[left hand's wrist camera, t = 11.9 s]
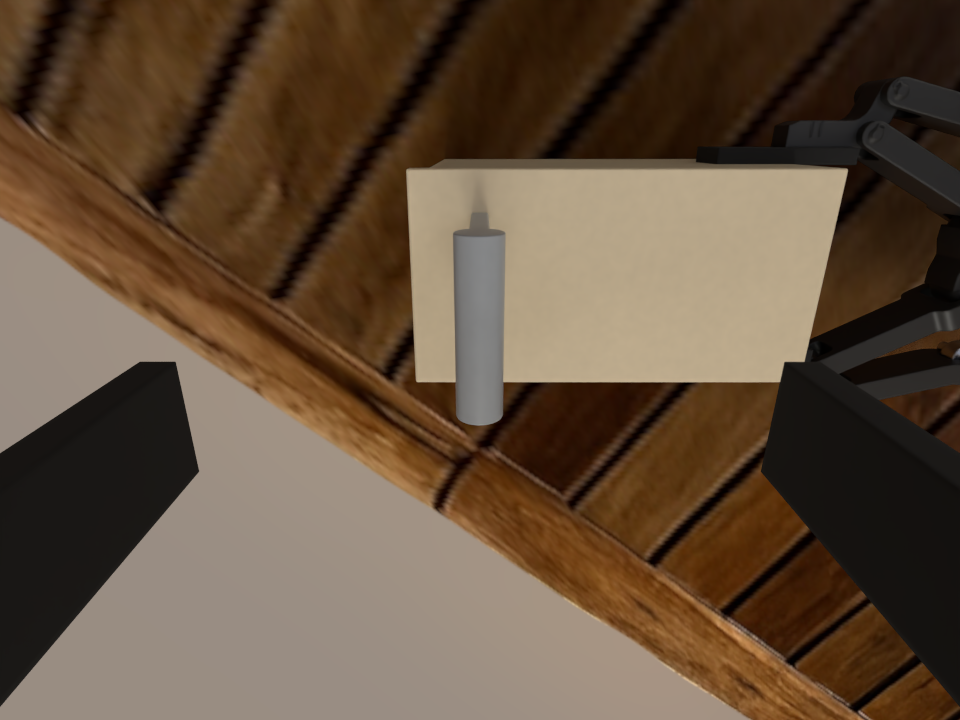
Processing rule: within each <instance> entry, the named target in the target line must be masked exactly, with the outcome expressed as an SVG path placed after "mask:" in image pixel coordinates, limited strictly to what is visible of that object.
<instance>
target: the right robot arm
mask: <svg viewBox="0 0 960 720" xmlns="http://www.w3.org/2000/svg"><path fill="white" fill-rule="evenodd" d="M854 102H855V105H854V106H853V108H852V110H851V111H850V113H849V114H848V115H847V116H846V117H845V118H843V119H842V120H839V121H787V122H784V123H781V124H779V125H776V126H775V128H774V133H773V139H772V144H771V147H698V149H697V157H696V162H700V163H709V164H797V165H856V164H857V160H858V161H860V162H861V163H863V164H864V165H866V166H868V167H869V168H871V169H872V170H874V171H875V172H877V173H879V174H880V175H882V176H883V177H885V178H886V179H888V180H890V181H891V182H893V183H894V184H896V185H897V186H899V187H901V188H902V189H904V190H905V191H907V192H908V193H910V194H912V195H913V196H915V197H916V198H918V199H919V200H921V201H923V202H924V203H926V204H927V206H926V207H927V208H928V209H930V210H931V211H933V212H935V213H936V214H938V215H939V216H941V217H942V218H944V219H946V220H947V221H949V222H948V224H947V225H941V227H940V231H939V234H938V238H937V253H936V256H935V258H934V260H933V261H932V263H931V265H930V267H929V268H928V271H927V275H926V278H925V282H924V284H922V285H920V286H918V287H915V288H913V289H911V290H909V291H906V292H905V293H903V294H902V295H901V299H900V300H898V301H895V302H893V303H891V304H889V305H886V306H884V307H882V308H880V309H877V310H875V311H873V312H871V313H868V314H866V315H864V316H862V317H859V318H857V319H855V320H853V321H850V322H848V323H846V324H844V325H841V326H839V327H837V328H835V329H832V330H830V331H828V332H826V333H823V334H821V335H819V336H817V337H814V338H812V339H810V340H809V344H808V349H807V353H806V357H805V362H821V363H823V364H824V365H826V366H827V367H829V368H830V369H832V370H833V371H835V372H836V373H838V374H839V375H841V376H842V377H844V378H845V379H847V380H848V381H850V382H852V383H853V384H855V385H856V386H858V387H859V388H861V389H862V390H864V391H865V392H867V393H868V394H870V395H871V396H873V397H874V398H876V399H878V400H881V399H885V398H890V397H895V396H900V395H904V394H909V393H914V392H919V391H924V390H928V389H933V388H938V387H943V386H947V385H952V384H956V385H960V340H956V341H951V342H949V343H947V342H941V343H939V344H938V346H937V349H919V350H913V351H909V352H904V353H899V354H895V355H890V356H885V357H881V358H877V357H879V356H881V355H884V354H886V353H888V352H891V351H893V350H895V349H898V348H900V347H902V346H905V345H907V344H909V343H912V342H914V341H916V340H919V339H921V338H923V337H926V336H928V335H930V334H933V333H935V332H938V331H952V330H956V329H959V328H960V171H958V170H957V169H955V168H954V167H952V166H951V165H949V164H948V163H946V162H945V161H943V160H942V159H940V158H939V157H937V156H936V155H934V154H933V153H931V152H929V151H928V150H926V149H925V148H923V147H922V146H920V145H919V144H917V143H916V142H914V141H913V140H911V139H910V138H908V137H907V136H905V135H904V134H902V133H901V132H899V131H898V130H896V129H895V128H893V127H891V126H890V125H889V123H890V122H891V120H892V118H896V119H899V120H903V121H906V122H909V123H913V124H916V125H920V126H923V127H927V128H930V129H934V130H937V131H941V132H944V133H948V134H951V135H955V136H958V137H960V92H957V91H954V90H951V89H947V88H944V87H940V86H937V85H934V84H930V83H927V82H924V81H920V80H917V79H913V78H910V77H897V78H890V79H884V80H877V81H870V82H866V83H863V84H862V85H861V86H860V87H858V89H857V90H856V92H855V96H854ZM874 358H876V359H874Z"/></svg>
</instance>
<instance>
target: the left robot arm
mask: <svg viewBox="0 0 960 720" xmlns="http://www.w3.org/2000/svg"><path fill="white" fill-rule="evenodd" d="M198 472H199V469H198V464H197V460H196V455H195V450H194V446H193V441H192V436H191V432H190V427H189V422H188V418H187V413H186V409H185V404H184V399H183V394H182V390H181V385H180V381H179V376H178V371H177V366H176V362H139V363H138V364H136V365H134V366H133V367H131V368H130V369H128V370H127V371H125V372H124V373H122V374H121V375H119V376H118V377H116V378H115V379H113V380H112V381H110V382H108V383H107V384H105V385H104V386H102V387H101V388H99V389H98V390H96V391H95V392H93V393H92V394H90V395H89V396H87V397H86V398H84V399H82V400H81V401H79V402H78V403H76V404H75V405H73V406H72V407H70V408H69V409H67V410H66V411H64V412H63V413H61V414H60V415H58V416H57V417H55V418H54V419H52V420H50V421H49V422H47V423H46V424H44V425H43V426H41V427H40V428H38V429H37V430H35V431H34V432H32V433H31V434H29V435H27V436H26V437H24V438H23V439H21V440H20V441H18V442H17V443H15V444H14V445H12V446H11V447H9V448H8V449H6V450H5V451H3V452H2V453H0V706H1V705H2V704H3V703H4V702H5V700H6V699H7V698H8V697H9V696H10V694H11V693H12V692H13V691H14V690H15V689H16V687H17V686H18V685H19V684H20V683H21V681H22V680H23V679H24V678H25V677H26V676H27V674H28V673H29V672H30V671H31V670H32V668H33V667H34V666H35V665H36V664H37V663H38V661H39V660H40V659H41V658H42V657H43V655H44V654H45V653H46V652H47V651H48V650H49V648H50V647H51V646H52V645H53V644H54V642H55V641H56V640H57V639H58V638H59V637H60V635H61V634H62V633H63V632H64V631H65V629H66V628H67V627H68V626H69V625H70V623H71V622H72V621H73V620H74V619H75V618H76V616H77V615H78V614H79V613H80V612H81V611H82V609H83V608H84V607H85V606H86V605H87V603H88V602H89V601H90V600H91V599H92V597H93V596H94V595H95V594H96V593H97V592H98V590H99V589H100V588H101V587H102V586H103V585H104V583H105V582H106V581H107V580H108V579H109V577H110V576H111V575H112V574H113V573H114V572H115V570H116V569H117V568H118V567H119V566H120V564H121V563H122V562H123V561H124V560H125V558H126V557H127V556H128V555H129V554H130V553H131V551H132V550H133V549H134V548H135V547H136V545H137V544H138V543H139V542H140V541H141V540H142V538H143V537H144V536H145V535H146V534H147V532H148V531H149V530H150V529H151V528H152V527H153V525H154V524H155V523H156V522H157V521H158V519H159V518H160V517H161V516H162V515H163V514H164V512H165V511H166V510H167V509H168V508H169V506H170V505H171V504H172V503H173V502H174V501H175V499H176V498H177V497H178V496H179V495H180V493H181V492H182V491H183V490H184V489H185V488H186V486H187V485H188V484H189V483H190V482H191V480H192V479H193V478H194V477H195V476H196V475H197V473H198ZM761 472H762V473H763V475H764V476H765V477H766V478H767V479H768V480H769V482H770V483H771V484H772V485H773V486H774V488H775V489H776V490H777V491H778V492H779V493H780V495H781V496H782V497H783V498H784V499H785V501H786V502H787V503H788V504H789V505H790V506H791V508H792V509H793V510H794V511H795V512H796V514H797V515H798V516H799V517H800V518H801V519H802V521H803V522H804V523H805V524H806V525H807V527H808V528H809V529H810V530H811V531H812V532H813V534H814V535H815V536H816V537H817V538H818V540H819V541H820V542H821V543H822V544H823V545H824V547H825V548H826V549H827V550H828V551H829V553H830V554H831V555H832V556H833V557H834V558H835V560H836V561H837V562H838V563H839V564H840V566H841V567H842V568H843V569H844V570H845V572H846V573H847V574H848V575H849V576H850V577H851V579H852V580H853V581H854V582H855V583H856V585H857V586H858V587H859V588H860V589H861V590H862V592H863V593H864V594H865V595H866V596H867V598H868V599H869V600H870V601H871V602H872V603H873V605H874V606H875V607H876V608H877V609H878V611H879V612H880V613H881V614H882V615H883V616H884V618H885V619H886V620H887V621H888V622H889V624H890V625H891V626H892V627H893V628H894V629H895V631H896V632H897V633H898V634H899V635H900V637H901V638H902V639H903V640H904V641H905V642H906V644H907V645H908V646H909V647H910V648H911V650H912V651H913V652H914V653H915V654H916V655H917V657H918V658H919V659H920V660H921V661H922V663H923V664H924V665H925V666H926V667H927V668H928V670H929V671H930V672H931V673H932V674H933V676H934V677H935V678H936V679H937V680H938V681H939V683H940V684H941V685H942V686H943V687H944V689H945V690H946V691H947V692H948V693H949V694H950V696H951V697H952V698H953V699H954V700H955V702H956V703H957V704H958V705H959V706H960V453H958V452H957V451H955V450H954V449H952V448H951V447H949V446H948V445H946V444H945V443H943V442H942V441H940V440H939V439H937V438H936V437H934V436H933V435H931V434H929V433H928V432H926V431H925V430H923V429H922V428H920V427H919V426H917V425H916V424H914V423H913V422H911V421H910V420H908V419H907V418H905V417H903V416H902V415H900V414H899V413H897V412H896V411H894V410H893V409H891V408H890V407H888V406H887V405H885V404H884V403H882V402H881V401H879V400H878V399H876V398H874V397H873V396H871V395H870V394H868V393H867V392H865V391H864V390H862V389H861V388H859V387H858V386H856V385H855V384H853V383H852V382H850V381H848V380H847V379H845V378H844V377H842V376H841V375H839V374H838V373H836V372H835V371H833V370H832V369H830V368H829V367H827V366H826V365H824V364H823V363H821V362H784V366H783V371H782V376H781V380H780V385H779V390H778V394H777V399H776V404H775V408H774V413H773V418H772V422H771V427H770V432H769V436H768V441H767V446H766V450H765V455H764V460H763V464H762V469H761Z"/></svg>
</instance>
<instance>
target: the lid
mask: <svg viewBox="0 0 960 720" xmlns="http://www.w3.org/2000/svg"><path fill="white" fill-rule="evenodd" d="M847 173H848V169H846V168H409V169H407V170H406V177H407V198H408V220H409V241H410V263H411V285H412V306H413V328H414V349H415V371H416V381H417V382H456V415H457V418H458V419H459V420H460V421H462V422H464V423H467V424H471V425H488V424H492V423H495V422H497V421H499V420H500V419H501V417H502V415H503V382H780V380H781V376H782V371H783V366H784V362H805V357H806V353H807V349H808V344H809V340H810V335H811V331H812V327H813V322H814V318H815V313H816V309H817V305H818V300H819V296H820V292H821V287H822V283H823V278H824V274H825V270H826V265H827V261H828V256H829V252H830V248H831V243H832V239H833V234H834V230H835V226H836V221H837V217H838V212H839V208H840V204H841V199H842V195H843V191H844V186H845V182H846V177H847Z"/></svg>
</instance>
